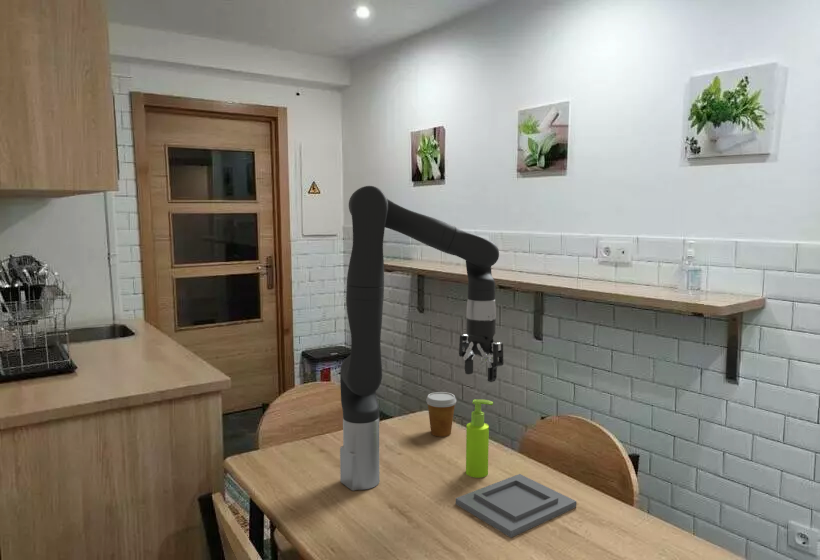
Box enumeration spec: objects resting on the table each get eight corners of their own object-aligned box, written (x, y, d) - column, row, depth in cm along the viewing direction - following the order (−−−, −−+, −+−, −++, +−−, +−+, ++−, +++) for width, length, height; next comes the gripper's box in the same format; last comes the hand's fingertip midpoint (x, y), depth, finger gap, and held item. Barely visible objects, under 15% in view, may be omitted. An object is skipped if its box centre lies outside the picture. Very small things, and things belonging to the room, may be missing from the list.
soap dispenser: (491, 479, 152) (492, 404, 150) (464, 476, 154) (465, 403, 152) (492, 469, 158) (493, 397, 156) (467, 467, 160) (468, 396, 157)
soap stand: (510, 537, 125) (511, 526, 125) (455, 504, 139) (455, 494, 139) (576, 507, 138) (576, 497, 138) (519, 479, 152) (519, 470, 152)
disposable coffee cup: (460, 430, 187) (460, 393, 185) (449, 440, 178) (450, 402, 177) (432, 425, 191) (433, 390, 189) (421, 435, 182) (421, 398, 181)
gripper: (452, 314, 155) (451, 373, 156) (490, 322, 143) (488, 386, 145) (473, 311, 159) (472, 369, 161) (511, 318, 148) (510, 381, 150)
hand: (480, 377), depth 153 cm, fingers open, 8 cm apart
